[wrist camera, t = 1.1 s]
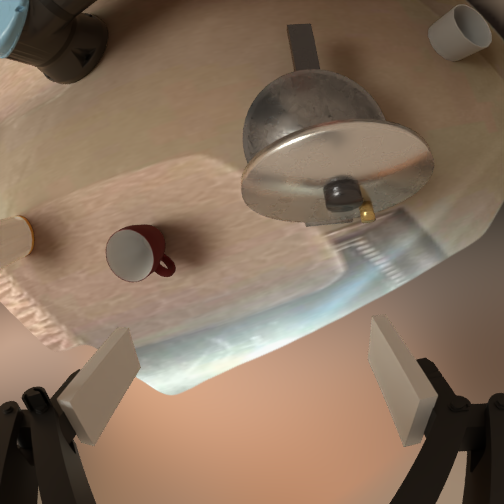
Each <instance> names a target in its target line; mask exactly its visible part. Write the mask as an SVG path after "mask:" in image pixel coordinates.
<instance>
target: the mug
mask: <svg viewBox="0 0 504 504" xmlns="http://www.w3.org/2000/svg"><path fill="white" fill-rule="evenodd" d="M164 252H165V239H164V236H163V234H162V233H161V232H160V231H159V230H158V229H157V228H156V227H154V226H151V225H132V226H127V227H125V228H122V229H120V230H119V231H117V232H115V233H114V234H113V235H112V236H111V237H110V239H109V240H108V243H107V246H106V258H107V262H108V265H109V267H110V268H111V270H112V271H113V272H114V274H115V275H117V276H118V277H119V278H121V279H122V280H125V281H128V282H139V281H141V280H143V279H145V278H146V277H148V276H149V275H150V274H151V273H153V272H156V273H157V274H159V275H160V276H163V277H170V276H172V275H173V274H174V272H175V269H176V267H175V264H174V262H173V261H172V260H171V259H170V258H169V257H168V256H167V255H165V254H164ZM160 260H162V261H163V262H164V263H165V265H166V266H167V268H168V269H167V268H165V267H163V266H162V265H160Z"/></svg>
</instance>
